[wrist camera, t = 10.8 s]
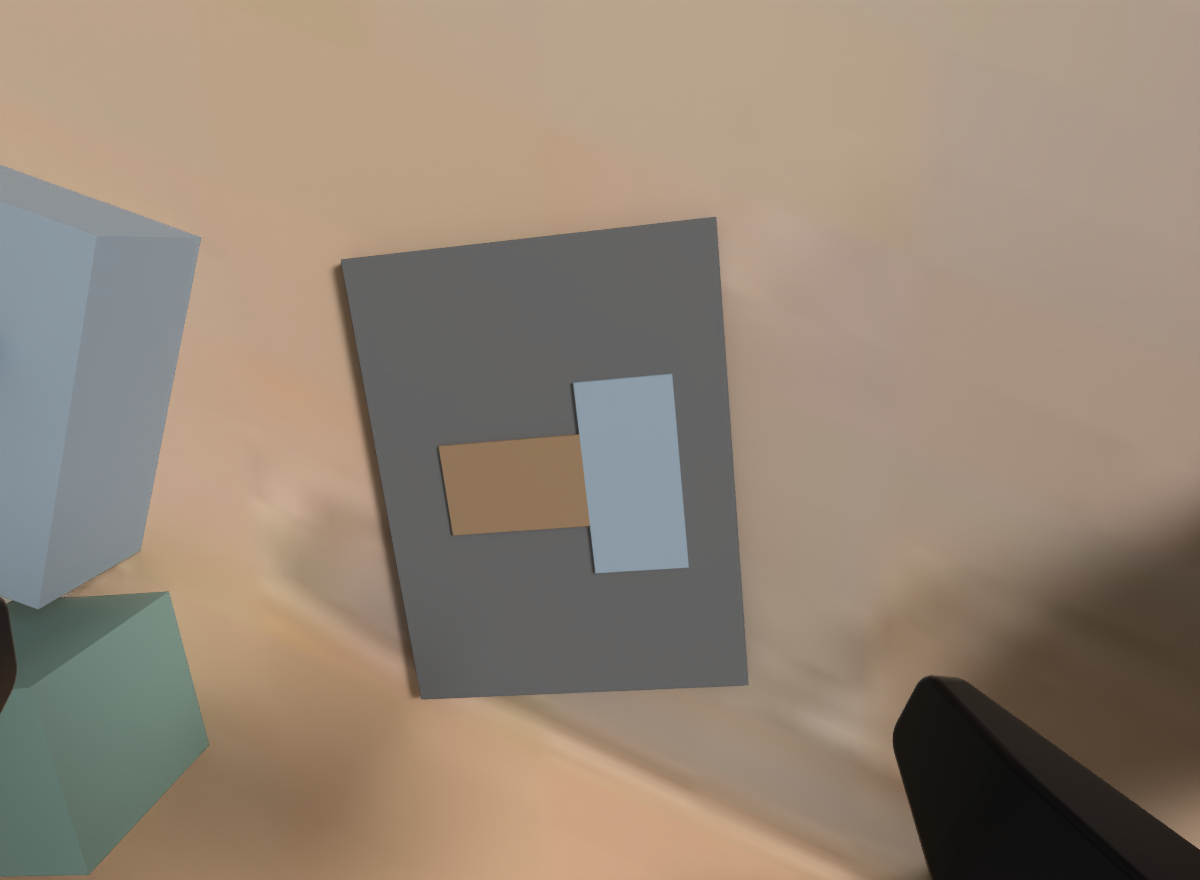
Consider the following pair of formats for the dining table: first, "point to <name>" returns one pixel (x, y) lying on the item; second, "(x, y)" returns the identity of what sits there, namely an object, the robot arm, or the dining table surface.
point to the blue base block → (81, 379)
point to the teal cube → (91, 728)
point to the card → (557, 459)
